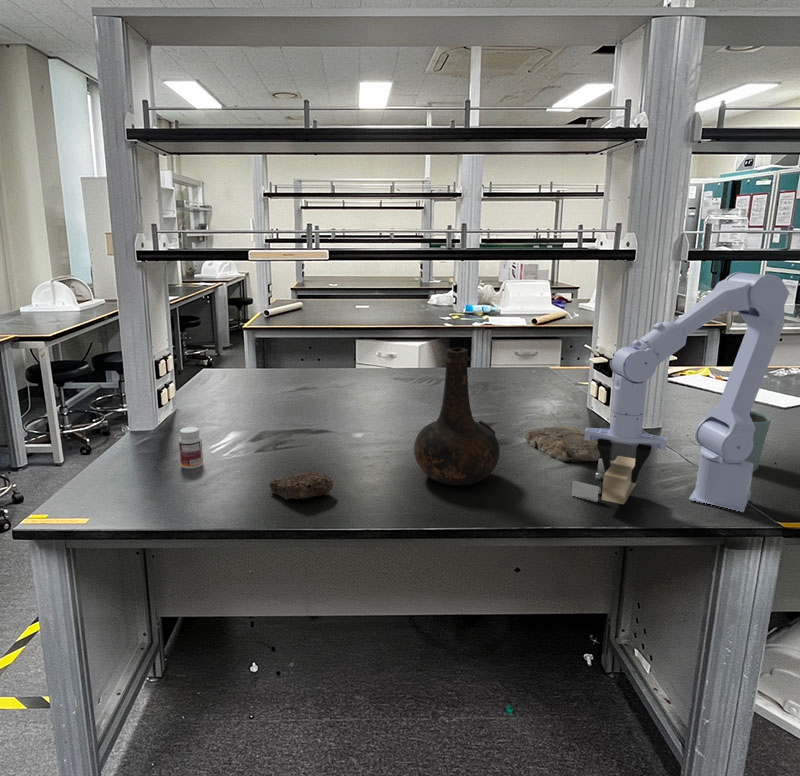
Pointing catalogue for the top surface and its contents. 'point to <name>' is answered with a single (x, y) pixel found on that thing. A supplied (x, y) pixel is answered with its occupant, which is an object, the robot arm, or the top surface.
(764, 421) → the green ceramic planter
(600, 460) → the grey blocks and balls
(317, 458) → the top surface
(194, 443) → the pill bottle
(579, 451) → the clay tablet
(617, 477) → the oak block
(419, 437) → the glass bottle
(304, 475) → the brown rock
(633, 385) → the robot arm
